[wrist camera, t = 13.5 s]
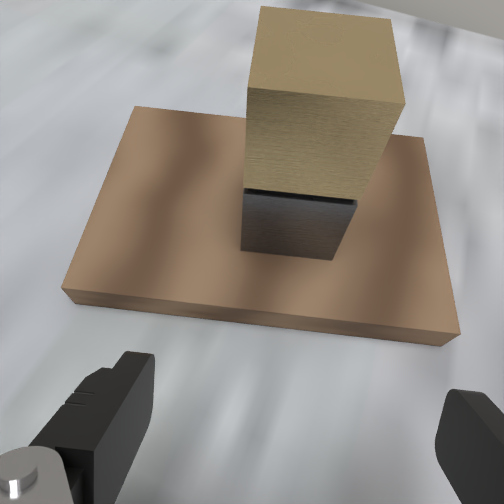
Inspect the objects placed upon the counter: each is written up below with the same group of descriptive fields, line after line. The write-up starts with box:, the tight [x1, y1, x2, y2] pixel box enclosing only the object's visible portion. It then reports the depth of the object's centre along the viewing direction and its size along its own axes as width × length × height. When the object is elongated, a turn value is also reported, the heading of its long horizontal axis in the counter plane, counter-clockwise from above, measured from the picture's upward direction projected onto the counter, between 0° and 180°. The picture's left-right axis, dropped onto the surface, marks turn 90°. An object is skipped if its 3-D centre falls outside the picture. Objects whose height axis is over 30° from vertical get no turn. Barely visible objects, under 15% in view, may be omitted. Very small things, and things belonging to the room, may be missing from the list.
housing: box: [240, 6, 406, 261], centre depth 17 cm, size 5×5×10 cm
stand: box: [61, 106, 461, 346], centre depth 23 cm, size 20×14×2 cm
